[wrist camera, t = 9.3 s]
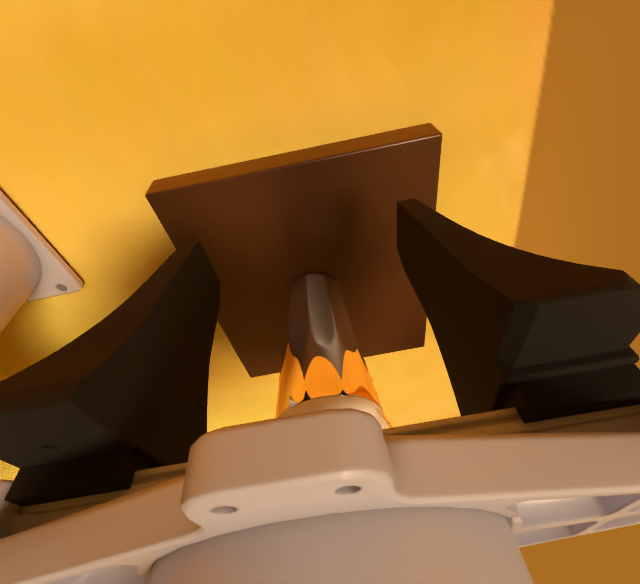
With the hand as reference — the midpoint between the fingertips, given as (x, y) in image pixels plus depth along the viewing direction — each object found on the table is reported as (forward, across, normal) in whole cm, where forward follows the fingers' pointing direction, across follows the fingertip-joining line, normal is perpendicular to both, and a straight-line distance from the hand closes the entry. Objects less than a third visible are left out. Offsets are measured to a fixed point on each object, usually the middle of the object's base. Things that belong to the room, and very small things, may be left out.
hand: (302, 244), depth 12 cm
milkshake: (+4, 0, +6) cm, 7 cm away
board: (+5, 0, +6) cm, 8 cm away
